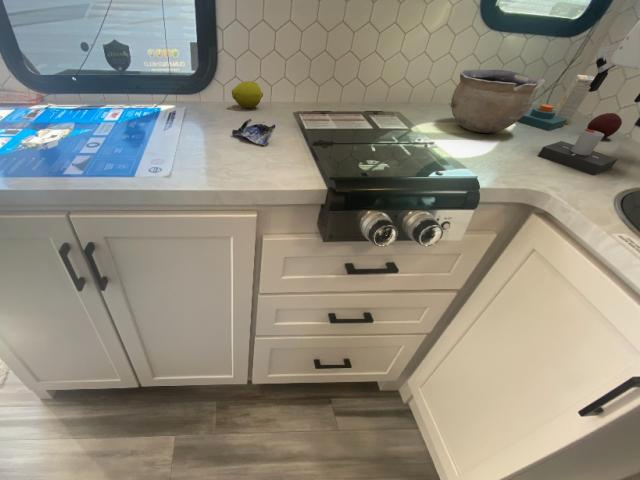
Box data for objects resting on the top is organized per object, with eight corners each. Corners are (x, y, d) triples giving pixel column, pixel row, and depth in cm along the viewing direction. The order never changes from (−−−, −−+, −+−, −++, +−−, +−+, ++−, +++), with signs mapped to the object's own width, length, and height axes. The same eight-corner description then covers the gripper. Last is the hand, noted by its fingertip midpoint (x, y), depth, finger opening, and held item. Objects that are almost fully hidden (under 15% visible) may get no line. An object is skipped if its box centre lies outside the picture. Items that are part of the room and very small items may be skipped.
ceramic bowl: (481, 144, 101) (510, 86, 91) (425, 121, 115) (445, 68, 105) (529, 136, 108) (562, 80, 98) (471, 115, 122) (495, 64, 112)
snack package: (233, 147, 94) (276, 146, 95) (233, 121, 91) (277, 120, 91) (231, 139, 104) (269, 138, 105) (231, 115, 100) (270, 114, 101)
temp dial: (593, 153, 92) (608, 132, 88) (585, 156, 90) (600, 135, 86) (575, 148, 94) (589, 127, 91) (567, 150, 93) (581, 130, 89)
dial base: (611, 167, 92) (619, 158, 90) (593, 175, 88) (601, 165, 86) (555, 149, 100) (561, 140, 98) (537, 155, 96) (543, 146, 95)
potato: (601, 133, 112) (618, 109, 107) (615, 142, 106) (634, 118, 101) (576, 130, 113) (592, 107, 108) (588, 139, 107) (606, 115, 102)
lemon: (261, 105, 123) (263, 79, 117) (263, 111, 117) (265, 84, 112) (231, 104, 123) (231, 78, 117) (231, 110, 117) (231, 83, 111)
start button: (552, 112, 115) (555, 106, 114) (546, 113, 114) (550, 107, 112) (541, 109, 117) (544, 103, 116) (535, 110, 116) (539, 104, 115)
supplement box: (568, 124, 117) (597, 80, 108) (551, 121, 119) (578, 78, 110) (567, 118, 123) (595, 75, 113) (551, 116, 124) (577, 73, 115)
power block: (563, 126, 116) (571, 113, 113) (547, 130, 112) (556, 117, 110) (527, 116, 123) (534, 103, 121) (511, 119, 120) (518, 107, 117)
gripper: (741, 9, 69) (663, 104, 81) (637, 1, 79) (582, 86, 91) (729, 9, 66) (650, 107, 78) (623, 1, 76) (568, 88, 88)
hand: (614, 96), depth 84 cm, fingers open, 9 cm apart
